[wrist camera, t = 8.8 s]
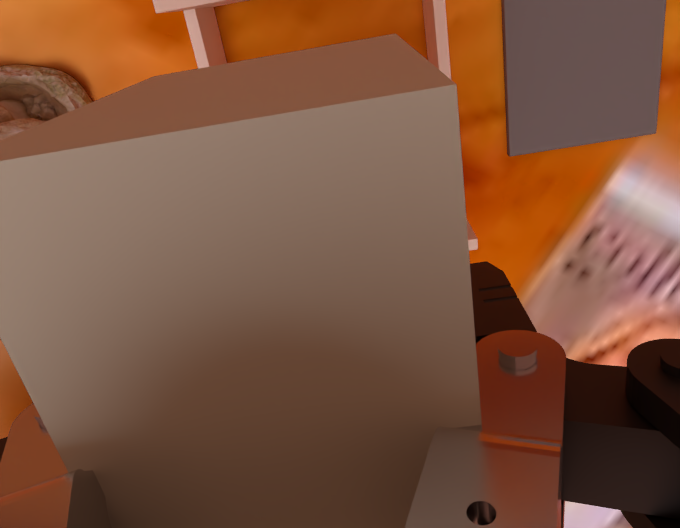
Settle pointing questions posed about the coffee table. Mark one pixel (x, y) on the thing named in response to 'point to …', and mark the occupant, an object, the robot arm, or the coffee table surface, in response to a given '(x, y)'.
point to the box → (247, 287)
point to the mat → (580, 71)
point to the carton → (200, 3)
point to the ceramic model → (35, 97)
